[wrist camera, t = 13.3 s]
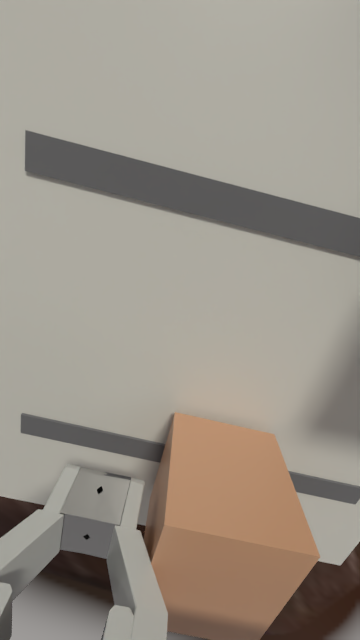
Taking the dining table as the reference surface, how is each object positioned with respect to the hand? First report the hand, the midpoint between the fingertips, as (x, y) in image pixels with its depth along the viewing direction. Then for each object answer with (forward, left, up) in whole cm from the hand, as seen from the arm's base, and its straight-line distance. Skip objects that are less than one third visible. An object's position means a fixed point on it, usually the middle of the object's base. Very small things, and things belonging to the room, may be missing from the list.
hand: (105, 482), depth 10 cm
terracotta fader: (+4, 0, -1) cm, 4 cm away
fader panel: (+2, +5, -4) cm, 7 cm away
